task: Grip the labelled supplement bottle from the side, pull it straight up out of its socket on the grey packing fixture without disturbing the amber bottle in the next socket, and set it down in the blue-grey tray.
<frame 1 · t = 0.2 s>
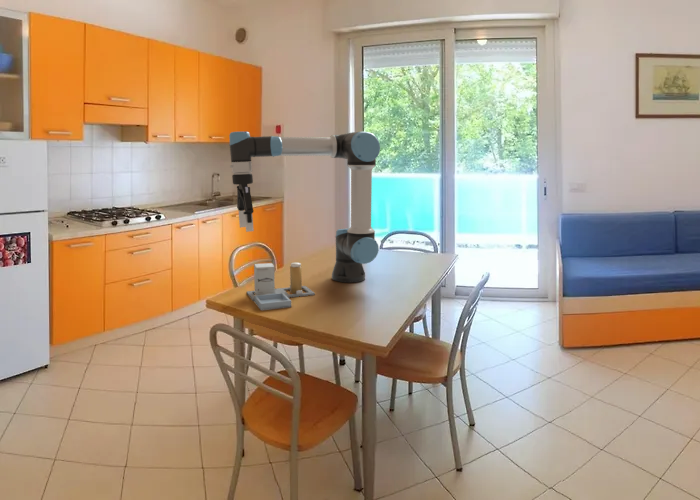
hand: (246, 229, 199), 27 cm above the table, tool pointing down, fingers open, 13 cm apart
tray: (272, 304, 194), on the table
supplement box: (264, 296, 206), resting in grey packing fixture
amber bottle: (296, 292, 210), resting in grey packing fixture
grey packing fixture: (280, 294, 208), on the table
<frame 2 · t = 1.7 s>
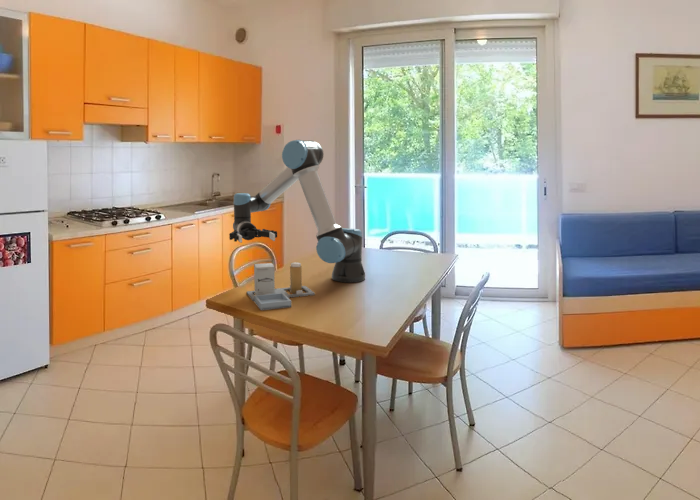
hand: (257, 238, 210), 22 cm above the table, tool horizontal, fingers open, 13 cm apart
nothing on the table moved.
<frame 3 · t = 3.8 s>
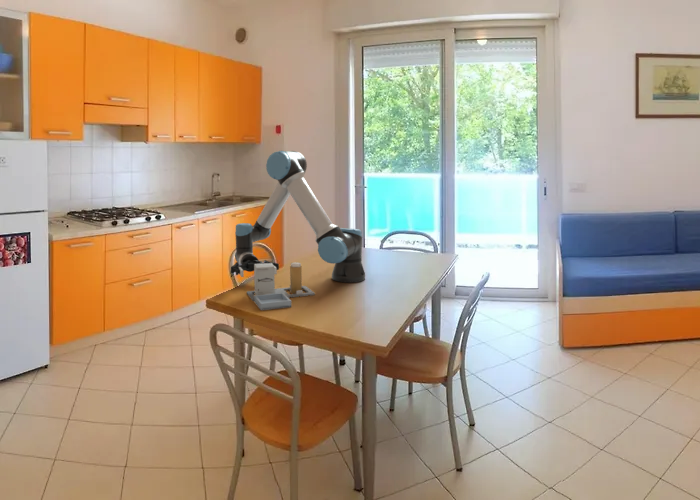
hand: (259, 272, 210), 8 cm above the table, tool horizontal, fingers open, 13 cm apart
nothing on the table moved.
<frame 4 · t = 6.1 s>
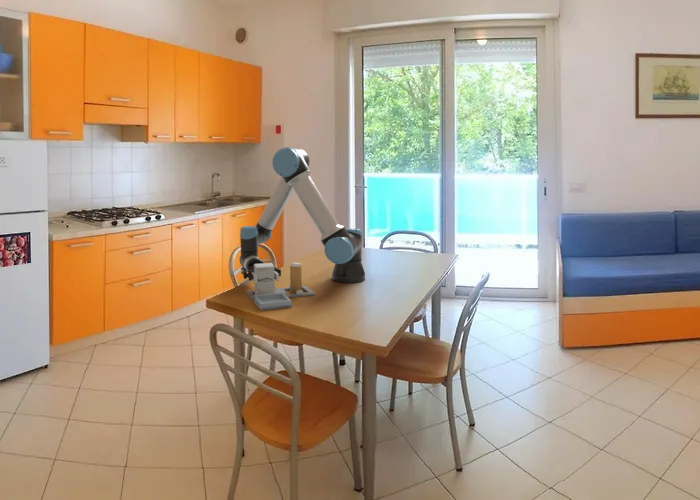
hand: (267, 278, 200), 8 cm above the table, tool horizontal, fingers closed on supplement box, 8 cm apart
supplement box: (264, 296, 206), resting in grey packing fixture, touching gripper
everything else where it was.
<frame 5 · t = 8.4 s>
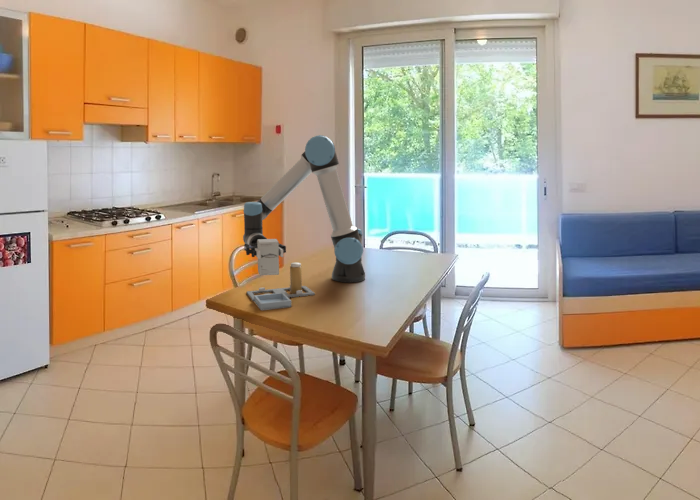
hand: (270, 254, 187), 20 cm above the table, tool horizontal, fingers closed on supplement box, 8 cm apart
supplement box: (268, 273, 194), point 11 cm above the table, touching gripper
everything else where it was.
when the fingers open (10 cm above the table, at t = 10.8 s): supplement box drops 1 cm, resting on tray.
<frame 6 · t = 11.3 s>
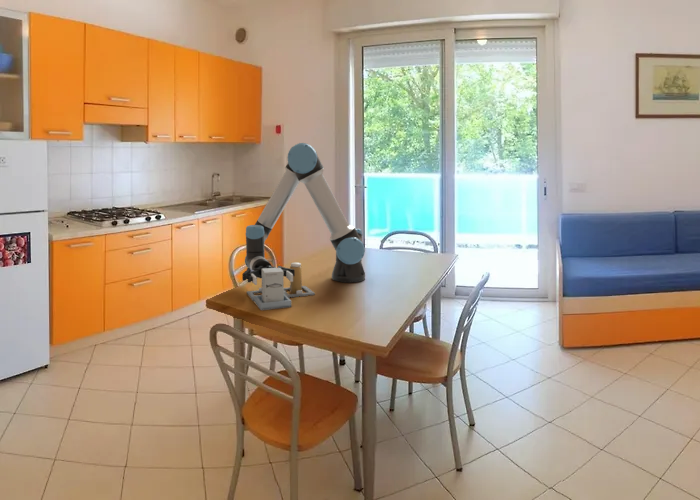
hand: (274, 279, 189), 10 cm above the table, tool horizontal, fingers open, 13 cm apart
supplement box: (272, 302, 194), point 1 cm above the table, touching tray
everything else where it was.
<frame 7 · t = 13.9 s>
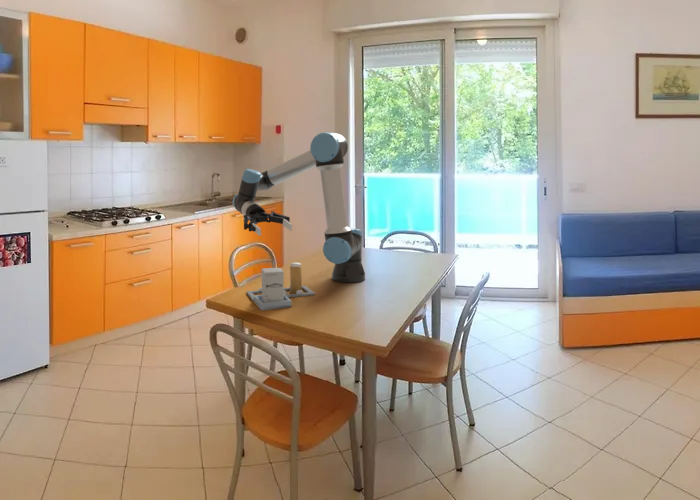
hand: (275, 229, 204), 26 cm above the table, tool horizontal, fingers open, 13 cm apart
nothing on the table moved.
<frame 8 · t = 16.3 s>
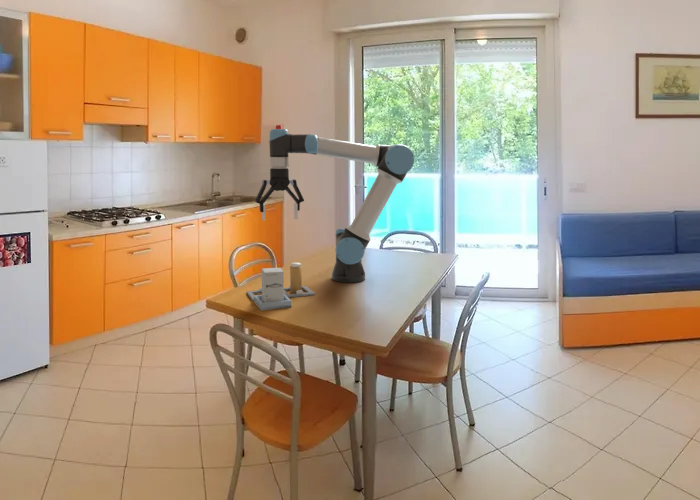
hand: (280, 219, 215), 29 cm above the table, tool pointing down, fingers open, 13 cm apart
nothing on the table moved.
at the end: supplement box inside the target area on the tray (0.2 cm from its centre), point 0.6 cm above the tray's base; supplement box tilted 0°; amber bottle moved 0.0 cm from its start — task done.
